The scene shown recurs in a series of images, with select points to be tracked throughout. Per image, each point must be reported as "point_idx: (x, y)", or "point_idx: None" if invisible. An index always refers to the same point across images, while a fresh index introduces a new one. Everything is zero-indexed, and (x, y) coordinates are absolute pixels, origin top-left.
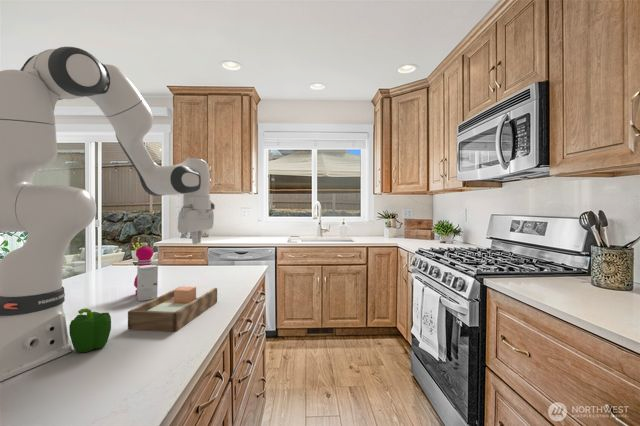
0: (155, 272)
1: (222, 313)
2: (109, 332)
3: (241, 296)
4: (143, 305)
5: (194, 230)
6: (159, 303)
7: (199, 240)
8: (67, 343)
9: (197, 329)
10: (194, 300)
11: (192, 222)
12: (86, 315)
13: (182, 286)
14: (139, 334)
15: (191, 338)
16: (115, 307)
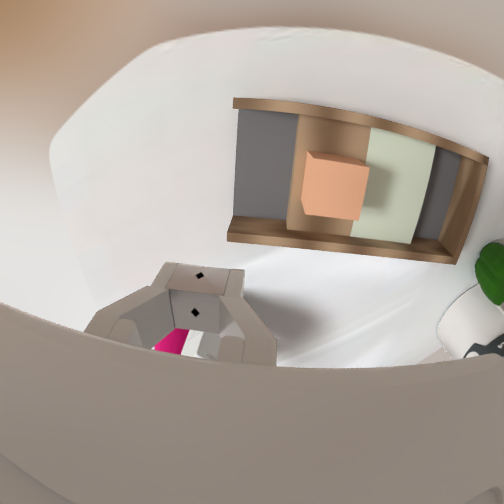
0: (207, 341)
1: (358, 57)
2: (501, 247)
3: (169, 48)
4: (426, 254)
5: (405, 374)
6: (362, 238)
7: (186, 278)
8: None
9: (458, 106)
10: (404, 133)
11: (483, 464)
12: (501, 295)
13: (306, 211)
14: None
15: (490, 113)
16: (295, 331)
